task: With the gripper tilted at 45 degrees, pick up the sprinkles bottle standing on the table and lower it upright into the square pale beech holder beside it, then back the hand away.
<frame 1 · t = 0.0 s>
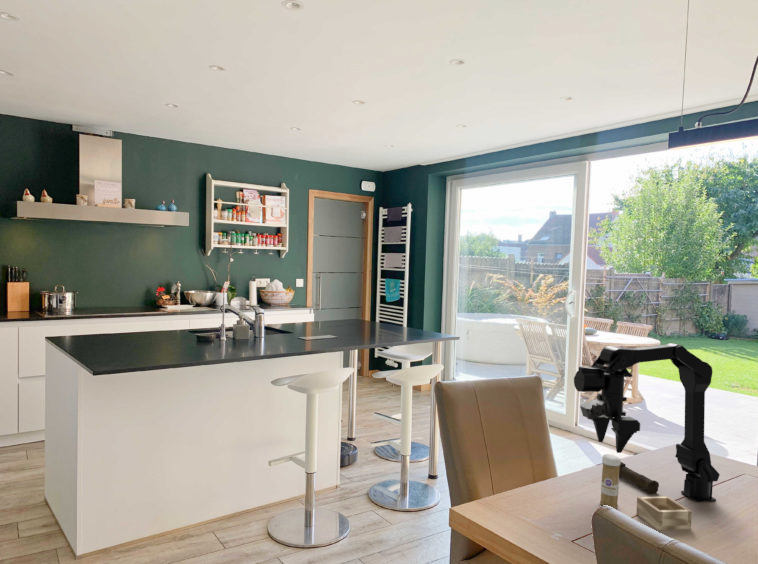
hand: (609, 447, 155), 15 cm above the table, tool pointing down, fingers open, 9 cm apart
beech holder: (662, 521, 142), on the table
sprinkles bottle: (608, 505, 151), on the table
hand tool: (628, 483, 169), on the table
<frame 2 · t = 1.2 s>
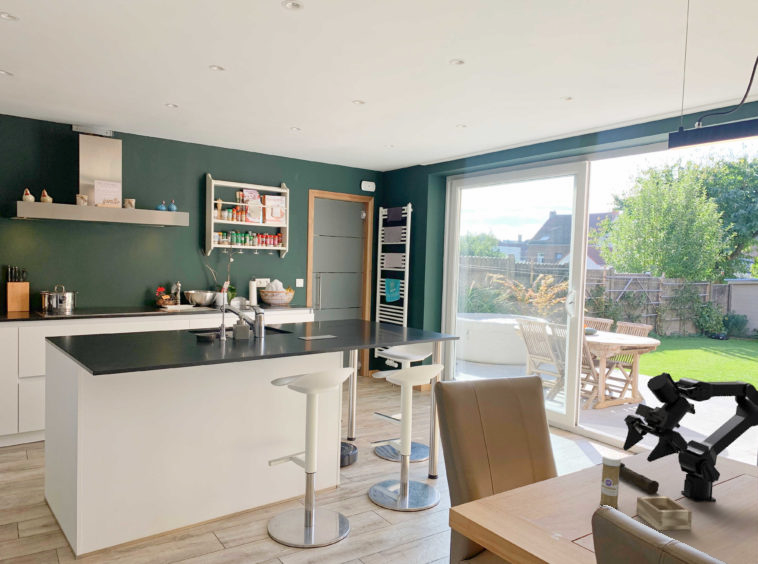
hand: (635, 455, 153), 13 cm above the table, tool tilted 45°, fingers open, 9 cm apart
nothing on the table moved.
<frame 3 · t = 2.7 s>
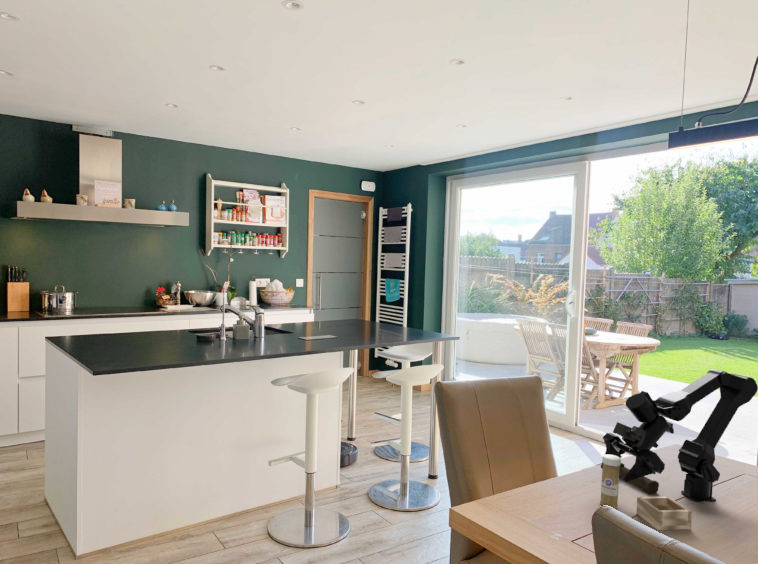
hand: (612, 474, 151), 8 cm above the table, tool tilted 45°, fingers open, 9 cm apart
nothing on the table moved.
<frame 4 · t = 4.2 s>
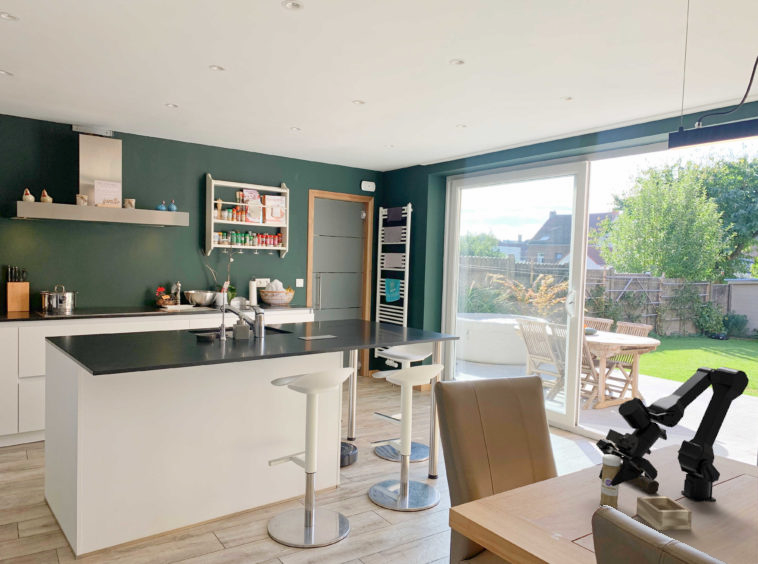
hand: (605, 481, 150), 7 cm above the table, tool tilted 45°, fingers closed on sprinkles bottle, 4 cm apart
sprinkles bottle: (608, 505, 151), on the table, touching gripper
everything else where it was.
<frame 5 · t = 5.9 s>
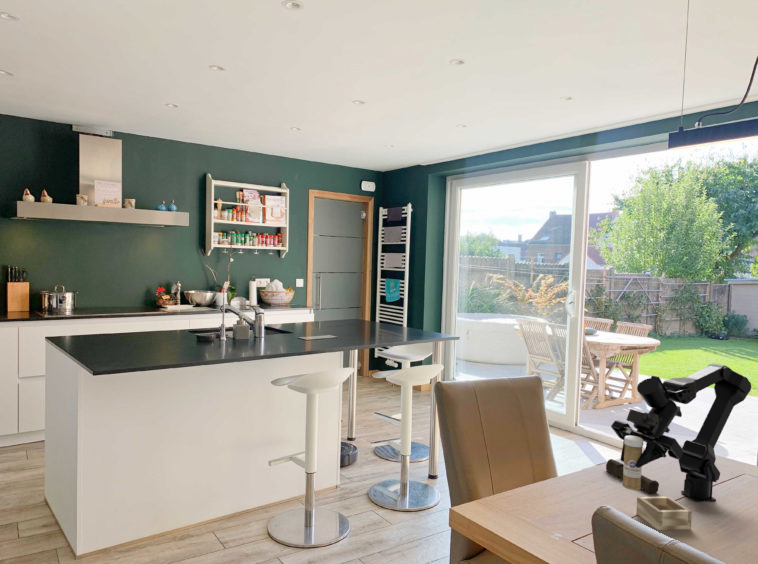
hand: (629, 463, 146), 13 cm above the table, tool tilted 45°, fingers closed on sprinkles bottle, 4 cm apart
sprinkles bottle: (631, 488, 147), point 6 cm above the table, touching gripper
everything else where it was.
when the fingers open (8 cm above the table, at t = 8.1 s): sprinkles bottle stays where it is, resting on beech holder.
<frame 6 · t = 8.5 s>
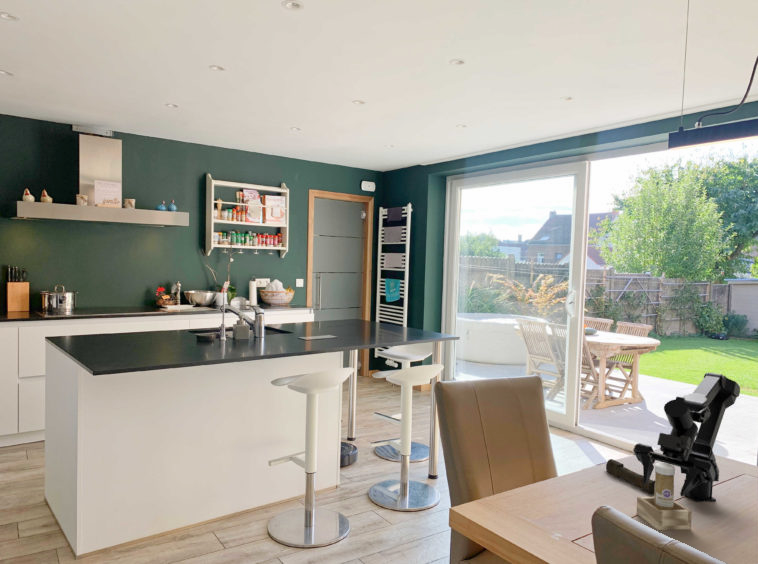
hand: (662, 489, 141), 9 cm above the table, tool tilted 45°, fingers open, 9 cm apart
sprinkles bottle: (663, 517, 142), point 1 cm above the table, touching beech holder
everything else where it was.
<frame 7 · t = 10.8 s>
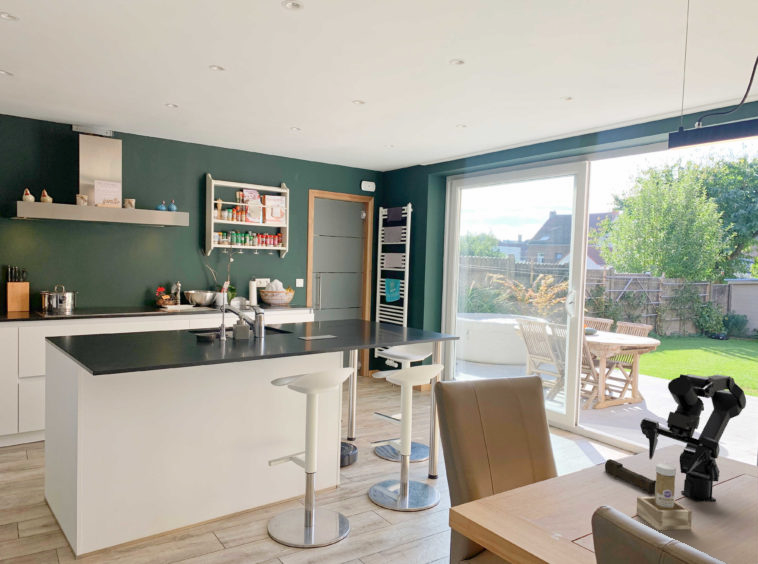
hand: (668, 465, 145), 13 cm above the table, tool tilted 40°, fingers open, 9 cm apart
nothing on the table moved.
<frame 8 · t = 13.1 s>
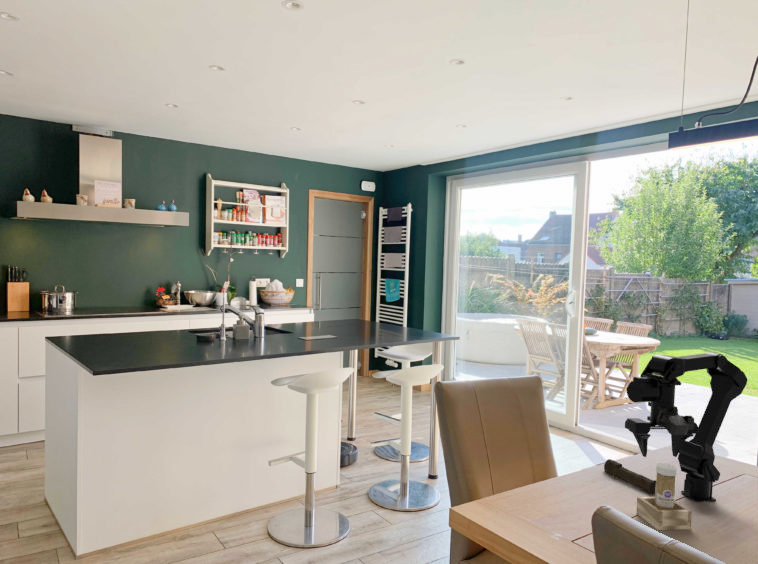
hand: (659, 456, 153), 13 cm above the table, tool pointing down, fingers open, 9 cm apart
nothing on the table moved.
at the end: sprinkles bottle 0.2 cm off-centre on the beech holder, point 0.8 cm above the beech holder's base; sprinkles bottle tilted 0°; the gripper is holding nothing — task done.
